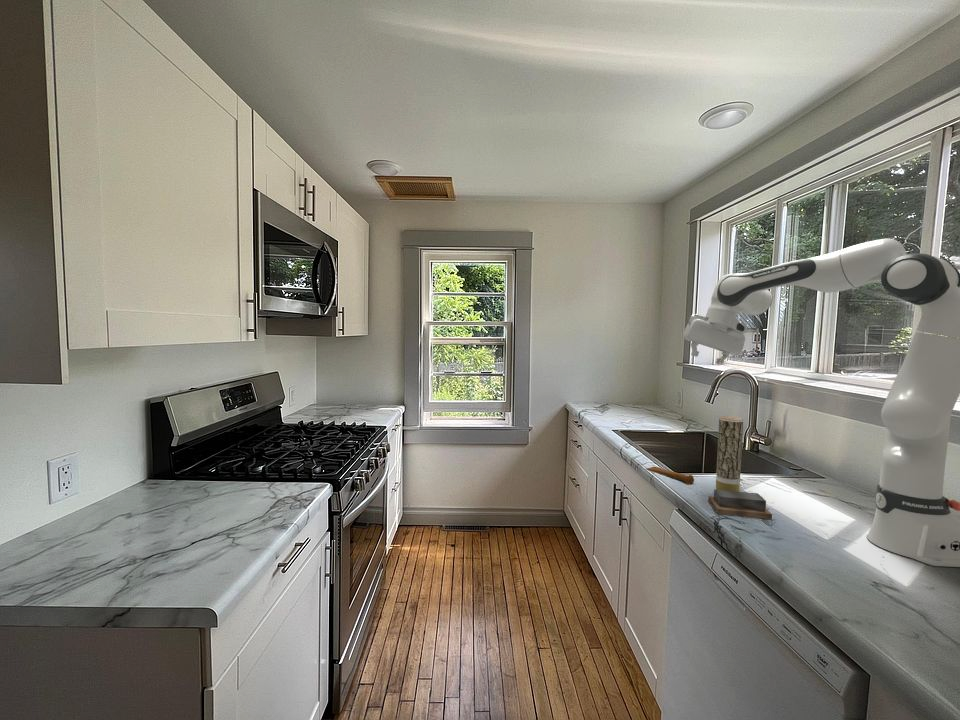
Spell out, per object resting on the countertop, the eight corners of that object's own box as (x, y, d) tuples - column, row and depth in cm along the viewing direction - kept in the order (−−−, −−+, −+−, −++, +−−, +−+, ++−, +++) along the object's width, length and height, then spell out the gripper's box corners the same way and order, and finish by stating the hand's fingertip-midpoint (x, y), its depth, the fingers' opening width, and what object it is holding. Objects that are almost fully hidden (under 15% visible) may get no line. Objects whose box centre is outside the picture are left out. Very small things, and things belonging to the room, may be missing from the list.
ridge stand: (758, 505, 132) (759, 491, 131) (771, 519, 122) (772, 503, 122) (708, 500, 135) (708, 486, 135) (717, 513, 125) (718, 498, 125)
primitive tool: (644, 469, 166) (645, 461, 166) (654, 468, 169) (655, 459, 169) (688, 486, 149) (688, 476, 149) (698, 484, 152) (699, 474, 151)
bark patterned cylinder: (719, 495, 139) (722, 419, 138) (712, 488, 146) (716, 415, 144) (742, 498, 138) (746, 421, 136) (735, 490, 144) (739, 417, 143)
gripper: (696, 311, 142) (684, 351, 143) (751, 329, 144) (739, 369, 145) (686, 312, 149) (674, 350, 149) (739, 330, 151) (727, 368, 151)
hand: (706, 360), depth 147 cm, fingers open, 8 cm apart
